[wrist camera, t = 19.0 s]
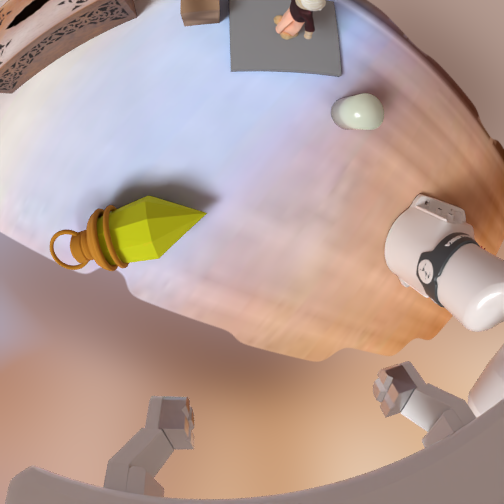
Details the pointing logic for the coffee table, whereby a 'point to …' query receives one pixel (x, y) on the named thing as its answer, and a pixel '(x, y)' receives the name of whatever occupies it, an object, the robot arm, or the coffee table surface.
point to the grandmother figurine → (298, 18)
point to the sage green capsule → (358, 112)
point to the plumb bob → (129, 233)
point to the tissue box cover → (50, 32)
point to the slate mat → (281, 40)
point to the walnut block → (200, 12)
